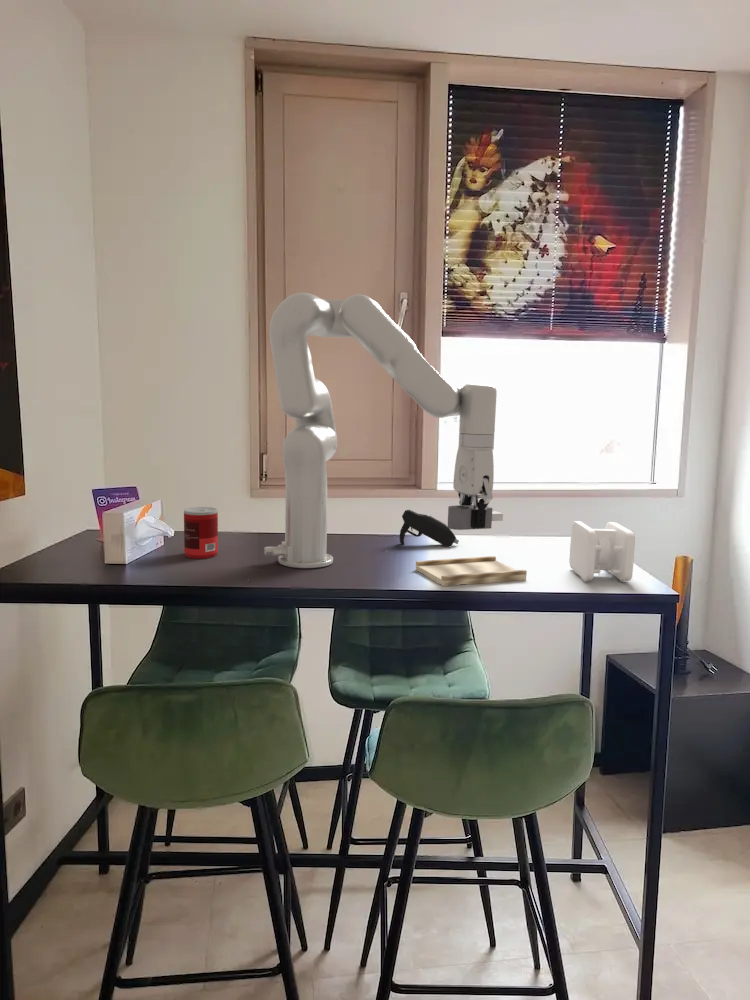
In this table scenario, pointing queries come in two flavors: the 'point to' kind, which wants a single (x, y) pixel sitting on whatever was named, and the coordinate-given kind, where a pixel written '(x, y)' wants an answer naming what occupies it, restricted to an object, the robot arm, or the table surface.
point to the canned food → (200, 532)
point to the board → (469, 571)
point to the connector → (469, 517)
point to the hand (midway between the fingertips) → (472, 524)
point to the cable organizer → (602, 550)
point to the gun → (427, 528)
